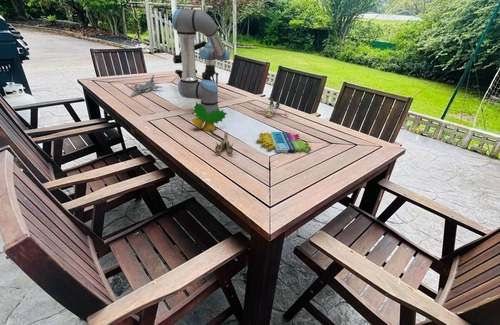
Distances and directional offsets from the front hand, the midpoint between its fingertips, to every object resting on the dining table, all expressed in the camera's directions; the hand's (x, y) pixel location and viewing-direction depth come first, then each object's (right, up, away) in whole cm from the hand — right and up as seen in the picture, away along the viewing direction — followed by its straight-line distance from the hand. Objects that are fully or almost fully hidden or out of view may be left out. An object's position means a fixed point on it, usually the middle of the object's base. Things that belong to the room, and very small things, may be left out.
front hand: (210, 93), depth 223 cm
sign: (+52, -48, -70) cm, 100 cm away
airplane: (-59, +4, +8) cm, 59 cm away
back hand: (-23, +14, +13) cm, 30 cm away
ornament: (+8, -38, -58) cm, 70 cm away
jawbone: (+20, -53, -84) cm, 102 cm away
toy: (+50, -20, -22) cm, 59 cm away
